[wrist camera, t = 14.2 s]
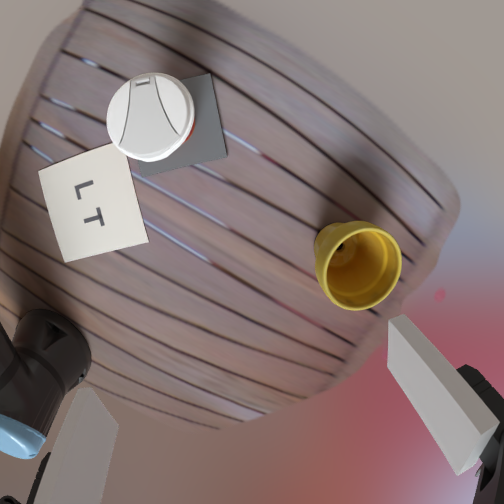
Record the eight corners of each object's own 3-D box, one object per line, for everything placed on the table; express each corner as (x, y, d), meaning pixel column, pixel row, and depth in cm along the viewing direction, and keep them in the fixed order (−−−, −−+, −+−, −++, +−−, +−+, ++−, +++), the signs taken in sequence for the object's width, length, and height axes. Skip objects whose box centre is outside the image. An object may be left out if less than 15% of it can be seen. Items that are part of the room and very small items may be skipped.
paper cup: (140, 100, 33) (98, 81, 20) (200, 90, 34) (188, 61, 21) (146, 160, 36) (107, 170, 23) (207, 151, 36) (197, 155, 23)
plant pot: (375, 212, 42) (411, 231, 33) (361, 279, 45) (391, 310, 36) (306, 204, 41) (330, 223, 31) (296, 277, 44) (314, 311, 35)
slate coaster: (143, 177, 37) (141, 177, 37) (126, 96, 34) (124, 96, 33) (227, 156, 38) (227, 157, 37) (210, 74, 34) (210, 73, 33)
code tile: (65, 262, 40) (64, 262, 40) (38, 171, 35) (38, 171, 35) (149, 241, 40) (148, 241, 40) (123, 139, 35) (122, 139, 35)
